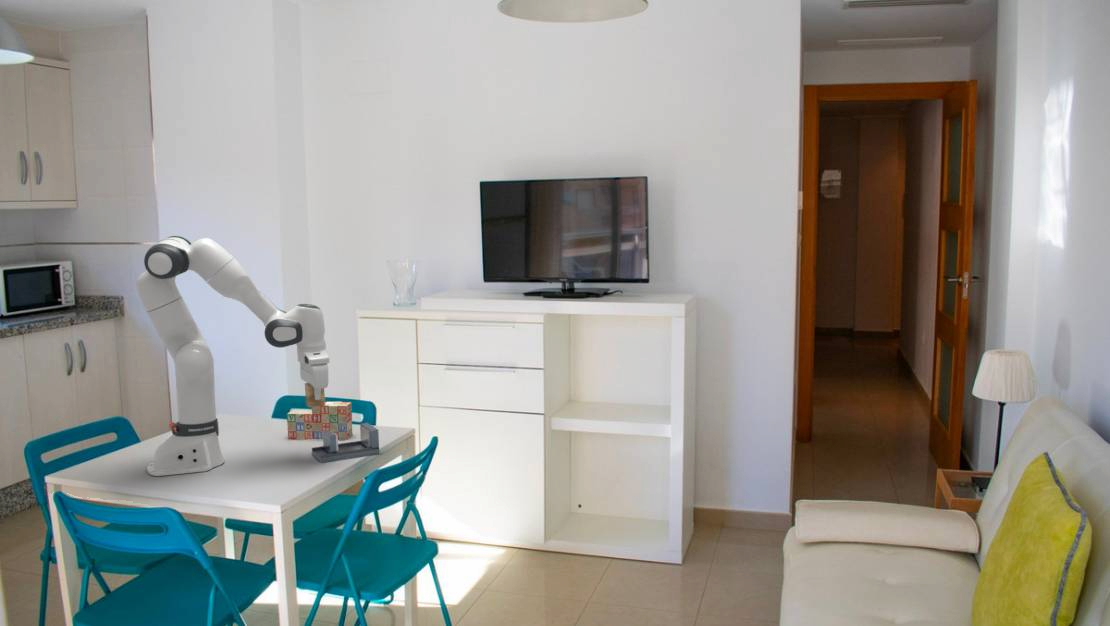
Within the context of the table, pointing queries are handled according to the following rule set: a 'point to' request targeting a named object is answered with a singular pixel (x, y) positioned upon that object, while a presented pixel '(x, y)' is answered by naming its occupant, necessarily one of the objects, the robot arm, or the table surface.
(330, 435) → the sliding jaw
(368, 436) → the vise base
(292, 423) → the stack of blocks
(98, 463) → the table surface
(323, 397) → the oak block
